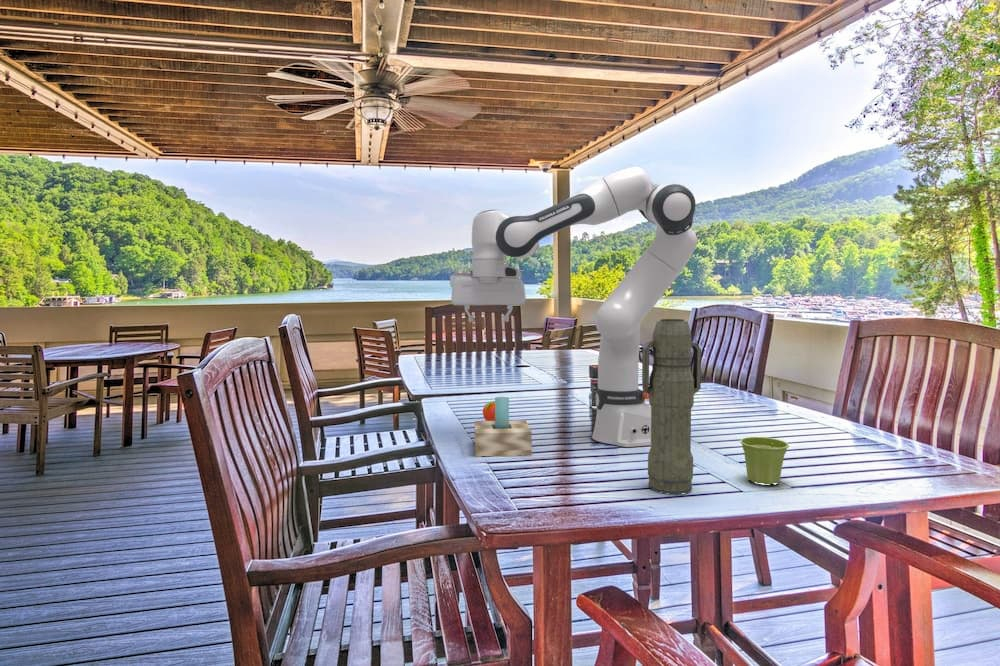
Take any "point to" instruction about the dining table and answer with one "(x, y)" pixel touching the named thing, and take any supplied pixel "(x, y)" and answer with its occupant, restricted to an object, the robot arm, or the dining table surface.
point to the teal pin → (501, 413)
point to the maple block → (503, 439)
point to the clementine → (489, 411)
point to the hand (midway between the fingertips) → (488, 322)
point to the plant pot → (764, 458)
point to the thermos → (671, 404)
